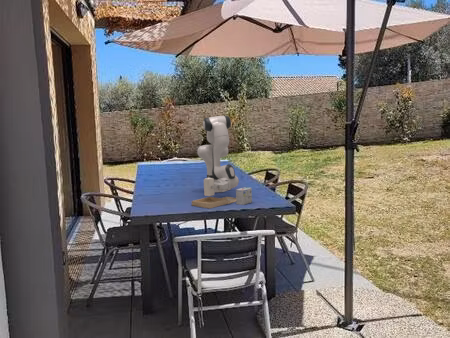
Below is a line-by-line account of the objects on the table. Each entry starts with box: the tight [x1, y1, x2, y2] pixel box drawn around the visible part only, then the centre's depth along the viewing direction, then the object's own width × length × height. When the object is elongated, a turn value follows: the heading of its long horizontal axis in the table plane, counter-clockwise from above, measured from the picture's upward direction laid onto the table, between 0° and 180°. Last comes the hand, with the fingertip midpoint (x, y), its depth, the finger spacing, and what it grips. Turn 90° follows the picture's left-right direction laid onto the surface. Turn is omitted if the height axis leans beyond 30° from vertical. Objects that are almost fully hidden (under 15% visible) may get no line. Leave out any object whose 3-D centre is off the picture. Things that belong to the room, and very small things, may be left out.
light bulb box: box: [235, 186, 253, 206], centre depth 323 cm, size 11×7×11 cm, turn 140°
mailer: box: [191, 196, 236, 210], centre depth 329 cm, size 37×18×4 cm, turn 137°
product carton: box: [203, 177, 215, 197], centre depth 320 cm, size 5×5×12 cm
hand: (208, 187), depth 320 cm, fingers closed on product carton, 5 cm apart
